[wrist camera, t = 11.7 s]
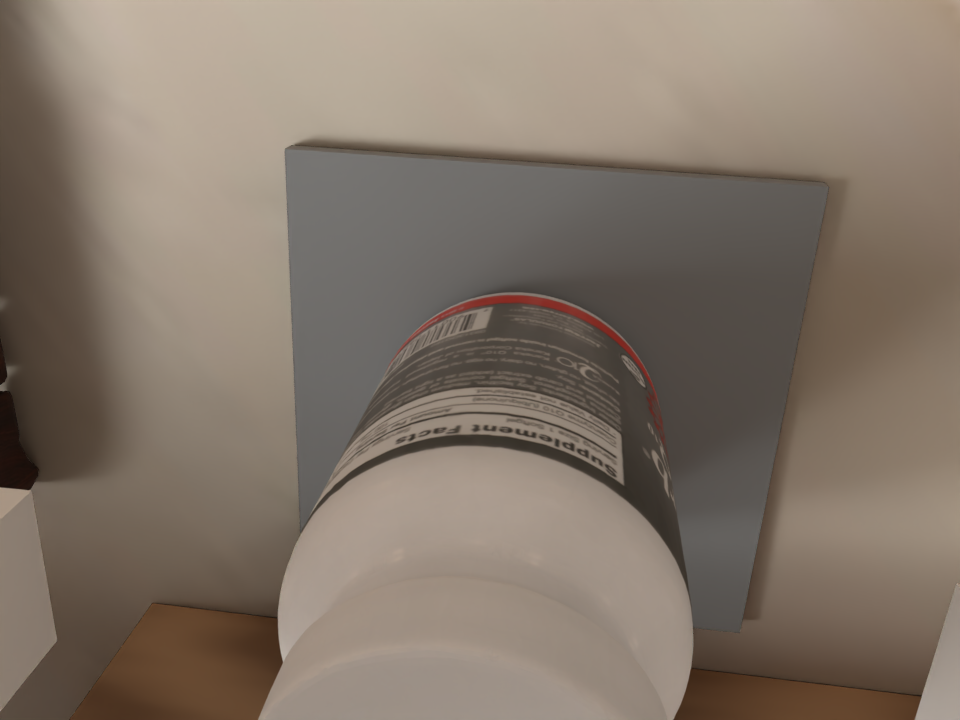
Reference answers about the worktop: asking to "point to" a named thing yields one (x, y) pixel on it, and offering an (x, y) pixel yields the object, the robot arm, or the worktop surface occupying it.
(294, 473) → the worktop surface
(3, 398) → the knife
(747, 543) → the slate pad
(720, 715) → the tray
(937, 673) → the robot arm
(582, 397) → the pill bottle
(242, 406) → the worktop surface
